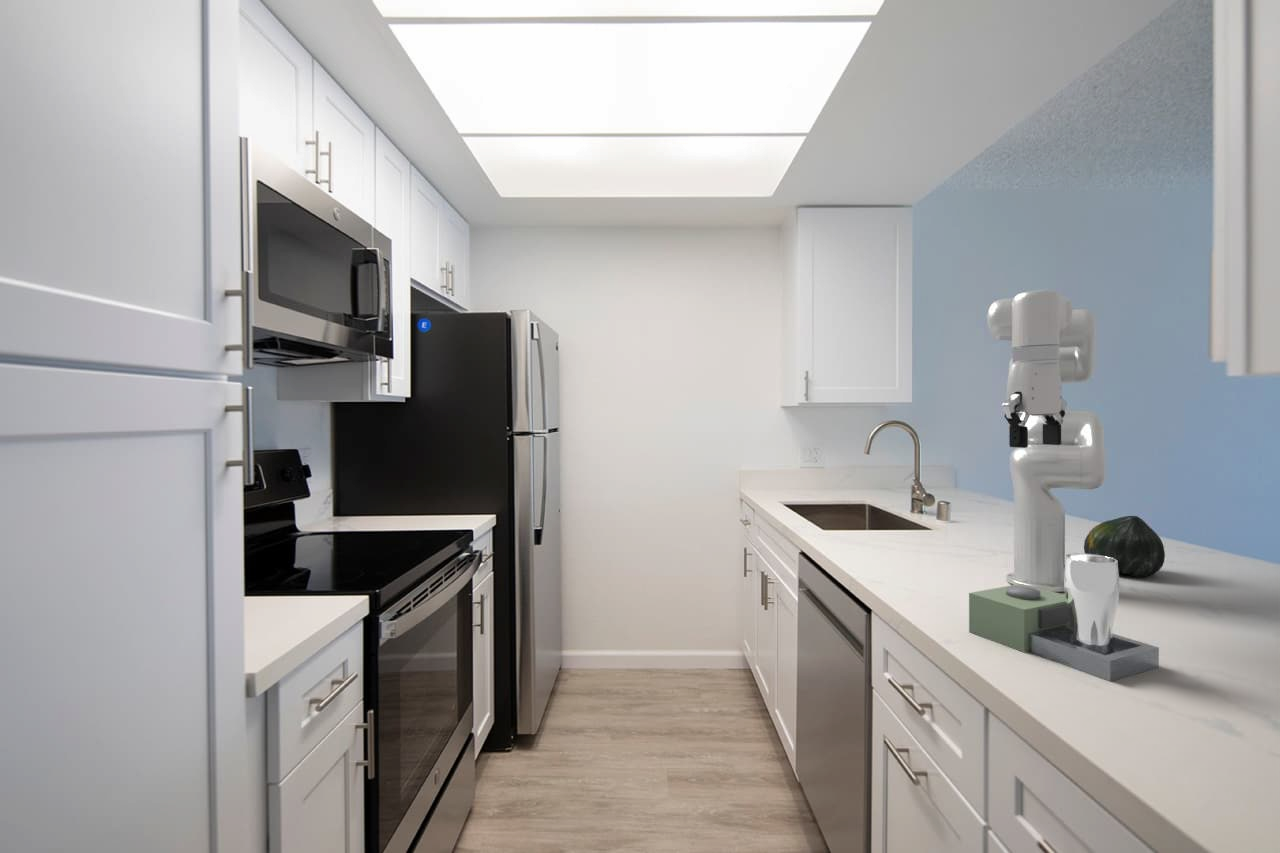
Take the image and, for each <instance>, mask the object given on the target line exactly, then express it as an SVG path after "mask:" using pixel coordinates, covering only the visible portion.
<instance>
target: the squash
mask: <svg viewBox="0 0 1280 853" xmlns="http://www.w3.org/2000/svg"><path fill="white" fill-rule="evenodd" d="M1083 542H1084V544H1083V550H1084V553H1085V554H1095V555H1102V556H1107V557H1111V558H1114V559H1116V560H1117V561H1118V572H1120V573H1122V574H1126V575H1129V576H1132V577H1135V578H1144V577H1149V576H1153V575H1154V574H1156V573H1157V572H1159V571H1160V570H1161V569H1162V568H1163V566H1164V563H1165V557H1166V552H1165V546H1164V544H1163V541H1162V539H1161V537H1160V536H1159V535H1158V534H1157V532H1156V531H1155V530H1153V528H1152V527H1151V526H1149V525H1148V524H1147V522H1146V521H1144V520H1143V518H1141V517H1139V516H1138V515H1127V516H1126V515H1125V516H1121V517H1118V518H1114V519H1109V520H1106V521H1103V522H1100V523H1099V524H1096V525H1095V526H1094V527H1092V528H1091V530H1090V531H1089V532H1088V533H1087V536H1086V537H1085V538H1084V541H1083Z"/></svg>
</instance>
